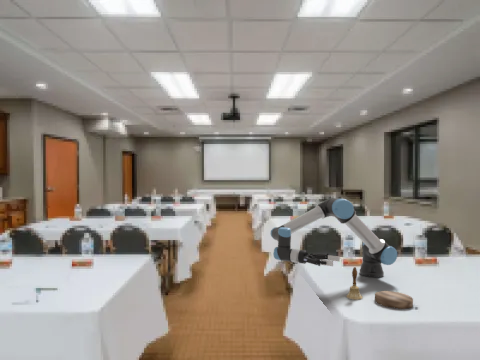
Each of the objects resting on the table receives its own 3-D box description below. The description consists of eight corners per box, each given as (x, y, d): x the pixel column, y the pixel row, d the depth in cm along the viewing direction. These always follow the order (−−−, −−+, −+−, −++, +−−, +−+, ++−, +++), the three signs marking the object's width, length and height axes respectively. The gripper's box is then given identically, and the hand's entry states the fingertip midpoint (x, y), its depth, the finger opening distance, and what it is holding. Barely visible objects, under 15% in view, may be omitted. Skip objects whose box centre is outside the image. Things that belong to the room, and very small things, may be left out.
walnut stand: (390, 294, 193) (390, 289, 193) (420, 305, 177) (420, 299, 177) (367, 299, 184) (367, 294, 184) (397, 311, 168) (397, 305, 168)
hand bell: (343, 294, 191) (344, 265, 191) (358, 294, 192) (358, 265, 192) (349, 300, 183) (350, 269, 183) (365, 299, 184) (365, 269, 184)
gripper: (306, 258, 214) (341, 263, 203) (291, 267, 192) (329, 273, 182) (306, 246, 214) (342, 250, 203) (291, 253, 192) (330, 258, 182)
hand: (336, 261), depth 192 cm, fingers open, 13 cm apart
